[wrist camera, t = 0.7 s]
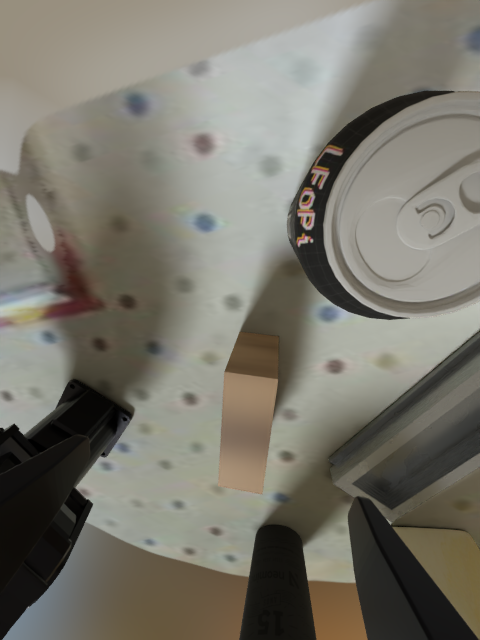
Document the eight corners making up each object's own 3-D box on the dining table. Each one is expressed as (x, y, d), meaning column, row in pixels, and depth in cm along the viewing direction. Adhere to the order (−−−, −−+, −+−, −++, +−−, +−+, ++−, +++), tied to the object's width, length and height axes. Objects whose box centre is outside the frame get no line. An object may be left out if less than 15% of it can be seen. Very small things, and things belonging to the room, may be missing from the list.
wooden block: (267, 429, 23) (262, 494, 18) (232, 423, 24) (217, 485, 18) (279, 336, 20) (279, 379, 14) (239, 331, 20) (223, 371, 15)
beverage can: (397, 233, 16) (645, 253, 5) (315, 284, 18) (371, 379, 7) (352, 149, 15) (544, -53, 4) (269, 212, 17) (249, 189, 6)
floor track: (387, 502, 24) (396, 525, 22) (324, 461, 23) (328, 480, 22) (578, 375, 18) (610, 392, 16) (498, 315, 17) (524, 325, 15)
